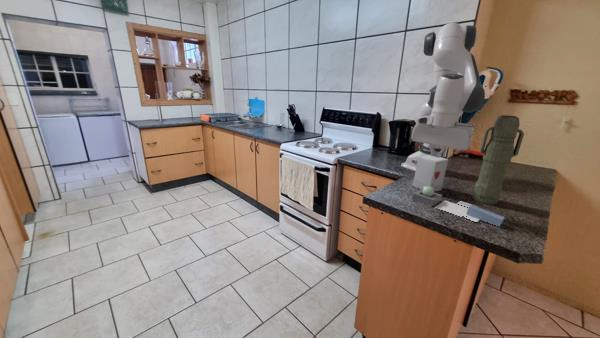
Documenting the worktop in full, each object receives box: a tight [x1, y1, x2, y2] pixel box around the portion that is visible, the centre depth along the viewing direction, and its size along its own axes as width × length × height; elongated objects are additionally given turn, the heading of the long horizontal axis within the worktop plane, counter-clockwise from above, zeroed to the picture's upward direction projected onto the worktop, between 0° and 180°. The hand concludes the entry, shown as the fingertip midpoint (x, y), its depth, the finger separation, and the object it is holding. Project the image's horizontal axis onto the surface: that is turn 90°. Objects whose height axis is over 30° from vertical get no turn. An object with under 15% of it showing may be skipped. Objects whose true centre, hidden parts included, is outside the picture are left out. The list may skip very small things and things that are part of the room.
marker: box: [466, 204, 505, 228], centre depth 86 cm, size 3×3×10 cm
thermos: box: [471, 114, 525, 206], centre depth 97 cm, size 9×12×35 cm
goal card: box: [456, 200, 476, 208], centre depth 97 cm, size 6×4×1 cm, turn 39°
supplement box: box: [412, 155, 449, 193], centre depth 111 cm, size 9×9×15 cm
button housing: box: [411, 189, 443, 207], centre depth 100 cm, size 8×8×3 cm
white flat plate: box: [434, 200, 481, 223], centre depth 92 cm, size 14×10×1 cm
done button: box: [422, 186, 435, 198], centre depth 99 cm, size 4×4×4 cm
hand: (435, 156), depth 94 cm, fingers closed
